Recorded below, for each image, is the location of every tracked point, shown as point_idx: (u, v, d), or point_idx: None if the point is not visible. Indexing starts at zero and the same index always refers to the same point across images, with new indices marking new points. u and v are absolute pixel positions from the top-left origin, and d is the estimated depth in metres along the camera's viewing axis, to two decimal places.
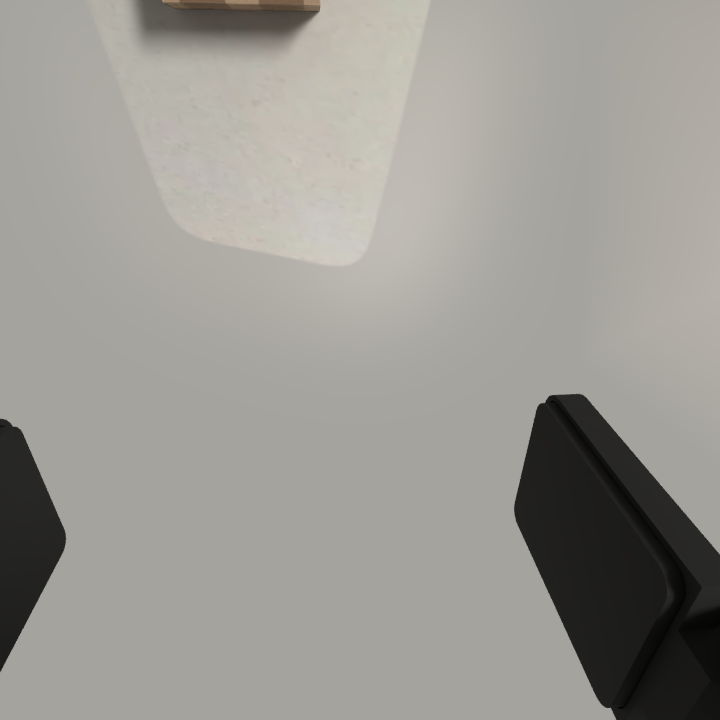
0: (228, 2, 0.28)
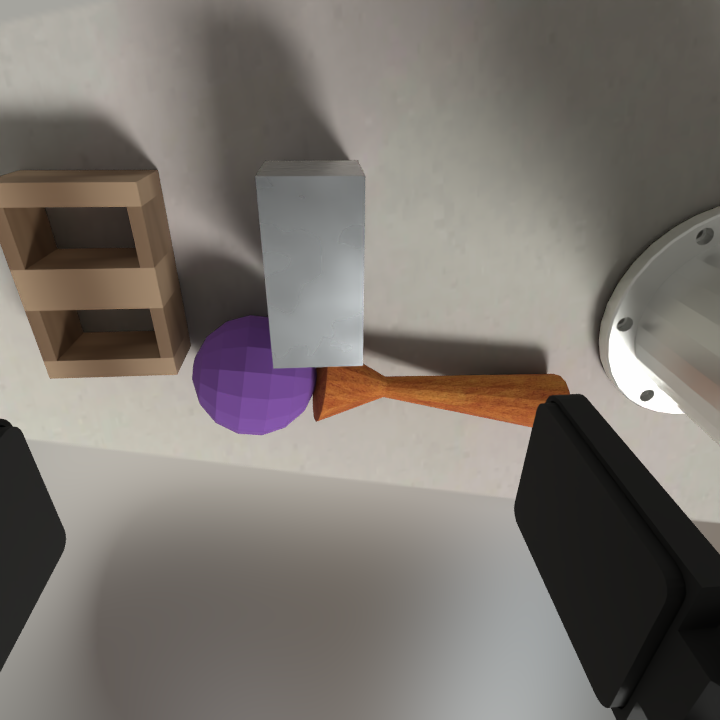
0: (12, 273, 0.21)
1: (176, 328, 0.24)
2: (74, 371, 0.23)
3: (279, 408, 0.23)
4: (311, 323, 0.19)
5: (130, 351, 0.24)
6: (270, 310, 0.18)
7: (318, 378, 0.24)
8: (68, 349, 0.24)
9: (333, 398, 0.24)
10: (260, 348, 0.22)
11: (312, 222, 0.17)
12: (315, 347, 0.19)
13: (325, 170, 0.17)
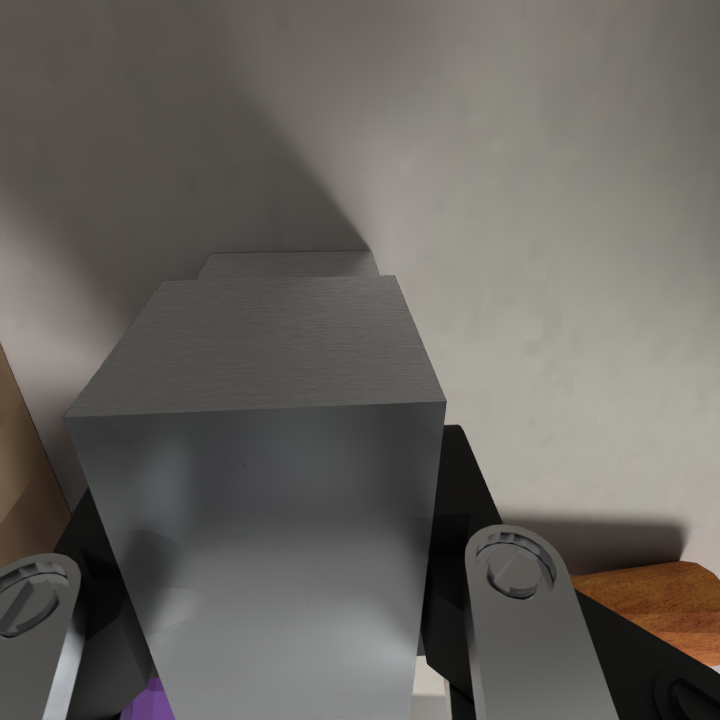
0: None
1: (35, 551, 0.13)
2: None
3: None
4: (279, 699, 0.07)
5: None
6: (170, 688, 0.07)
7: None
8: None
9: None
10: None
11: (273, 521, 0.05)
12: None
13: (313, 349, 0.06)
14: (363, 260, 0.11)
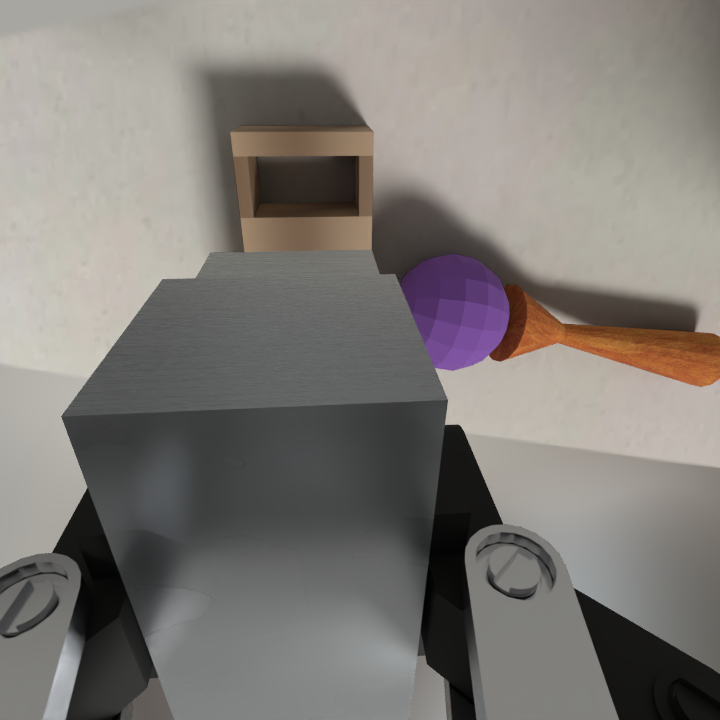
0: (241, 221, 0.22)
1: None
2: None
3: (487, 340, 0.24)
4: (280, 700, 0.07)
5: None
6: (170, 688, 0.07)
7: (509, 318, 0.25)
8: None
9: (528, 337, 0.25)
10: (477, 281, 0.23)
11: (272, 520, 0.05)
12: None
13: (313, 348, 0.06)
14: (363, 259, 0.11)
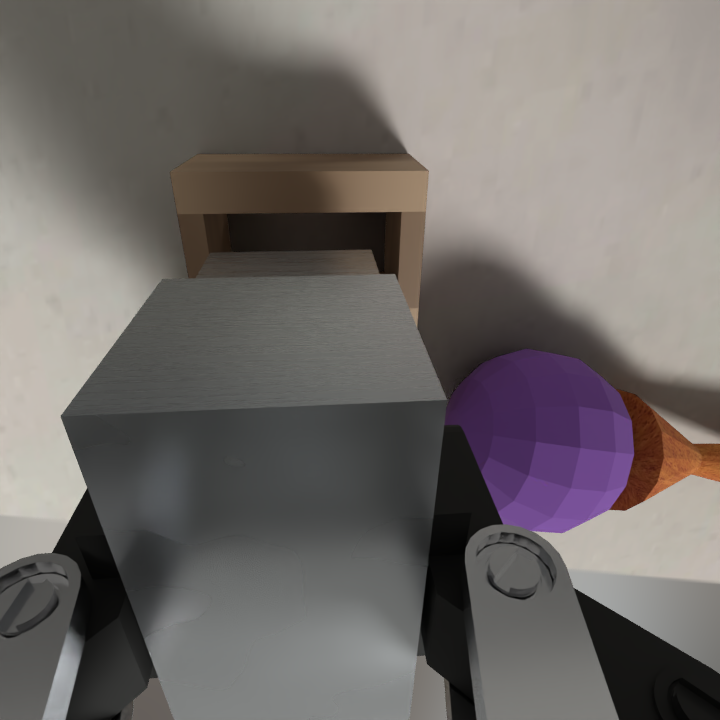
0: None
1: None
2: None
3: (607, 502, 0.14)
4: (280, 700, 0.07)
5: None
6: (169, 688, 0.07)
7: None
8: None
9: (661, 484, 0.16)
10: (596, 410, 0.14)
11: (272, 521, 0.05)
12: None
13: (312, 348, 0.06)
14: (363, 259, 0.11)
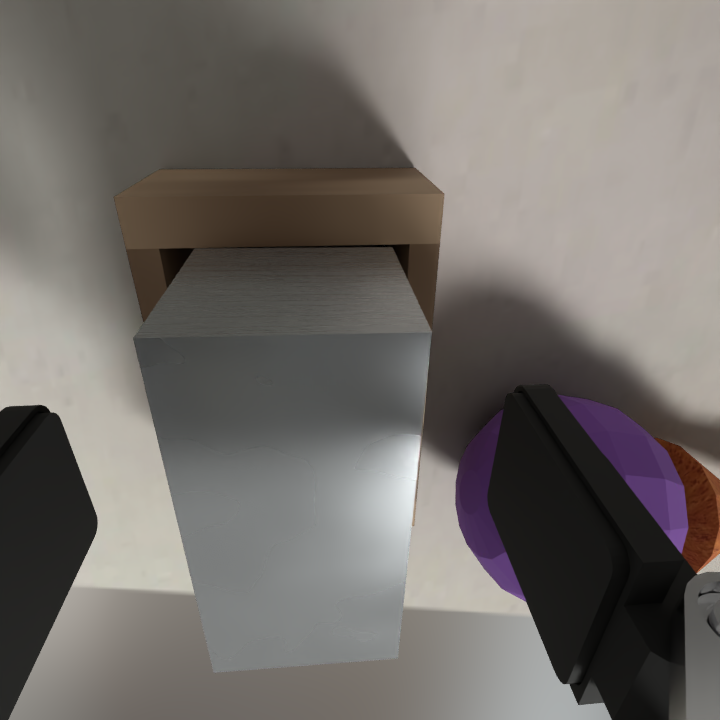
0: None
1: None
2: None
3: None
4: (291, 604, 0.09)
5: None
6: (199, 590, 0.08)
7: None
8: None
9: (714, 554, 0.13)
10: (645, 478, 0.11)
11: (292, 434, 0.07)
12: (300, 638, 0.09)
13: (325, 297, 0.07)
14: None
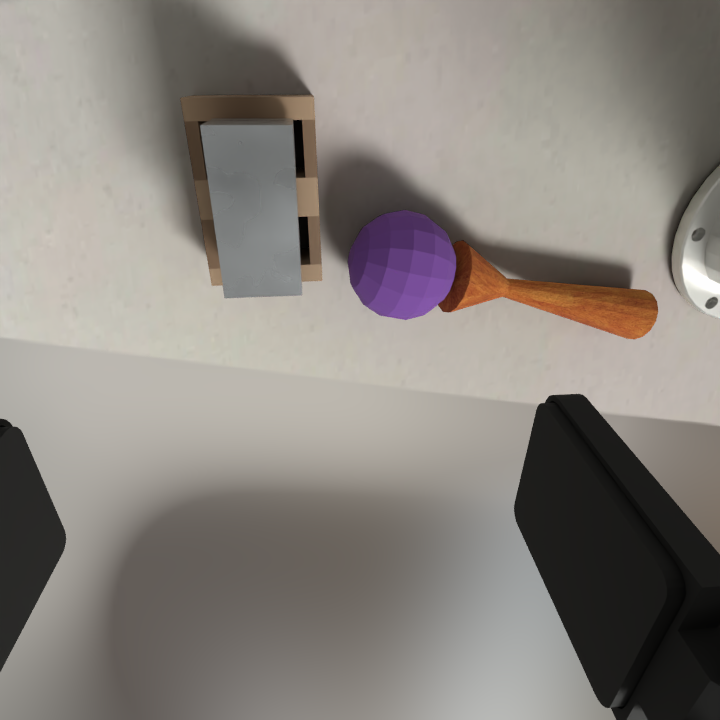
0: (195, 184, 0.24)
1: None
2: None
3: (435, 288, 0.26)
4: (255, 256, 0.22)
5: None
6: (219, 244, 0.21)
7: (456, 271, 0.28)
8: None
9: (473, 287, 0.27)
10: (424, 232, 0.25)
11: (250, 166, 0.20)
12: (260, 278, 0.22)
13: (261, 122, 0.20)
14: None
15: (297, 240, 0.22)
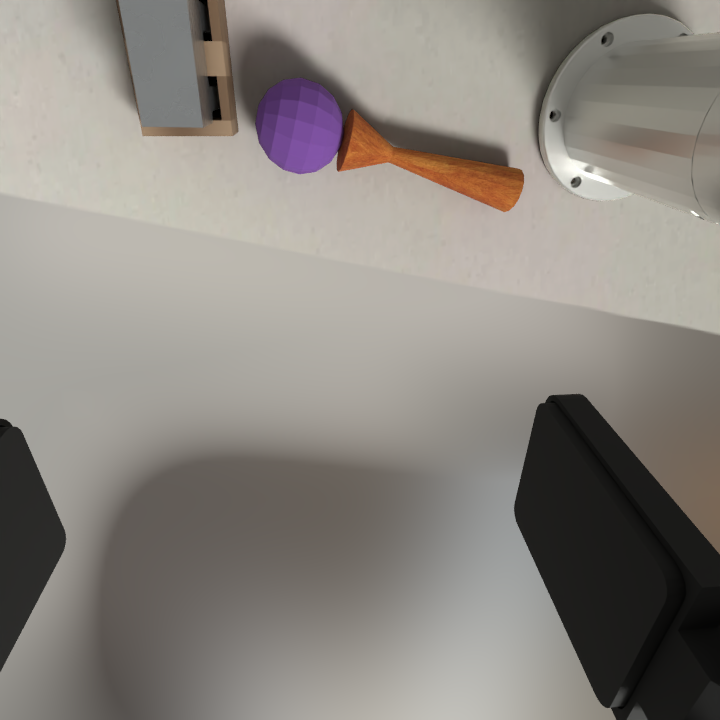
0: (125, 43, 0.30)
1: (231, 103, 0.34)
2: (160, 130, 0.33)
3: (319, 137, 0.32)
4: (163, 90, 0.28)
5: None
6: (134, 78, 0.28)
7: (345, 132, 0.34)
8: None
9: (356, 143, 0.33)
10: (310, 89, 0.31)
11: (154, 10, 0.27)
12: (168, 110, 0.29)
13: None
14: None
15: (195, 77, 0.28)
